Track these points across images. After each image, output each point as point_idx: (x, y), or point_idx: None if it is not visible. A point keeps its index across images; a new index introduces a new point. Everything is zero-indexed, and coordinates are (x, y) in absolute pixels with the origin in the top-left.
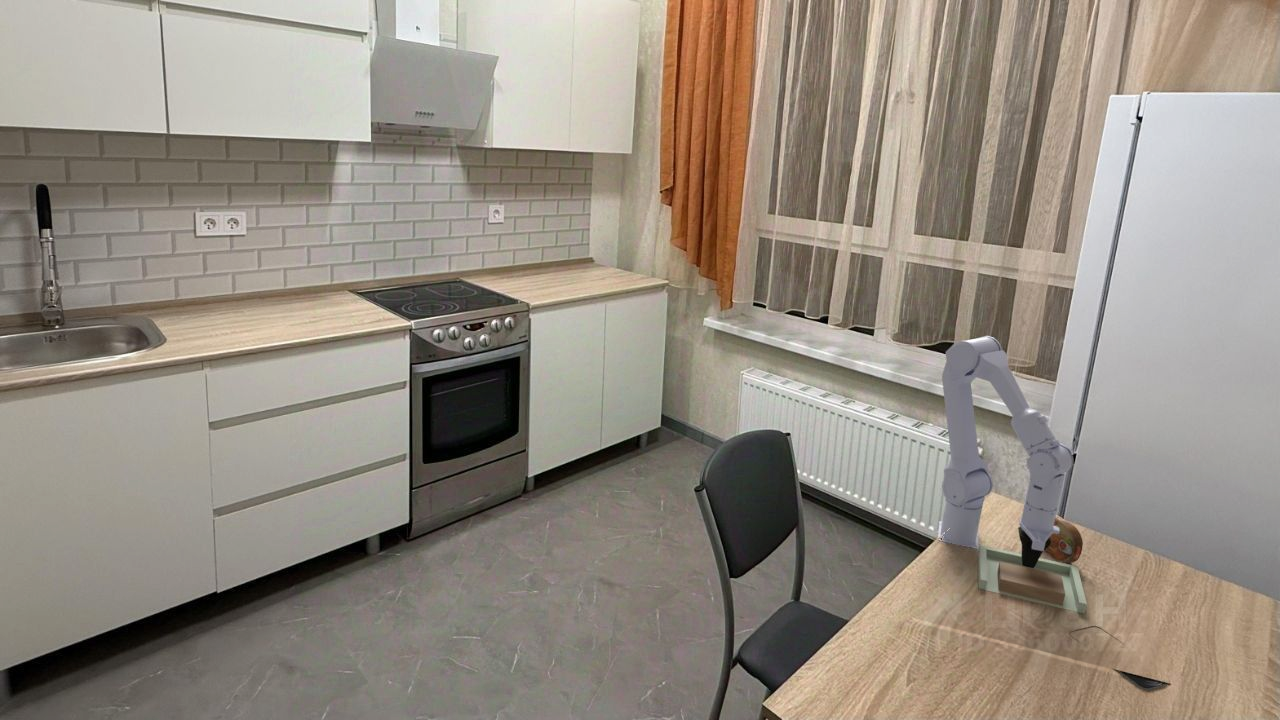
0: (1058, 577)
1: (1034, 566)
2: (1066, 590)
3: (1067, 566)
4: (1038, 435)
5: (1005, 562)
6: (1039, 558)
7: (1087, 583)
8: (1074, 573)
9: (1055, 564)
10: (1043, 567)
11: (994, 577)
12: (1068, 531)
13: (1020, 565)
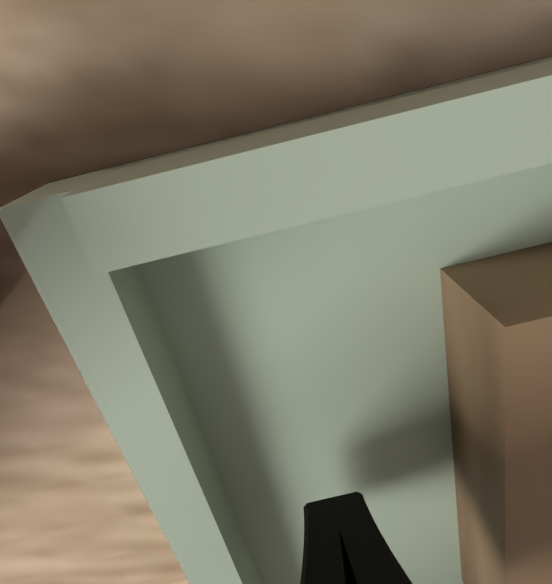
0: None
1: (366, 505)
2: (483, 201)
3: (104, 290)
4: None
5: None
6: (163, 504)
7: (125, 27)
8: (294, 203)
9: (160, 388)
10: (194, 420)
11: None
12: None
13: (275, 523)
